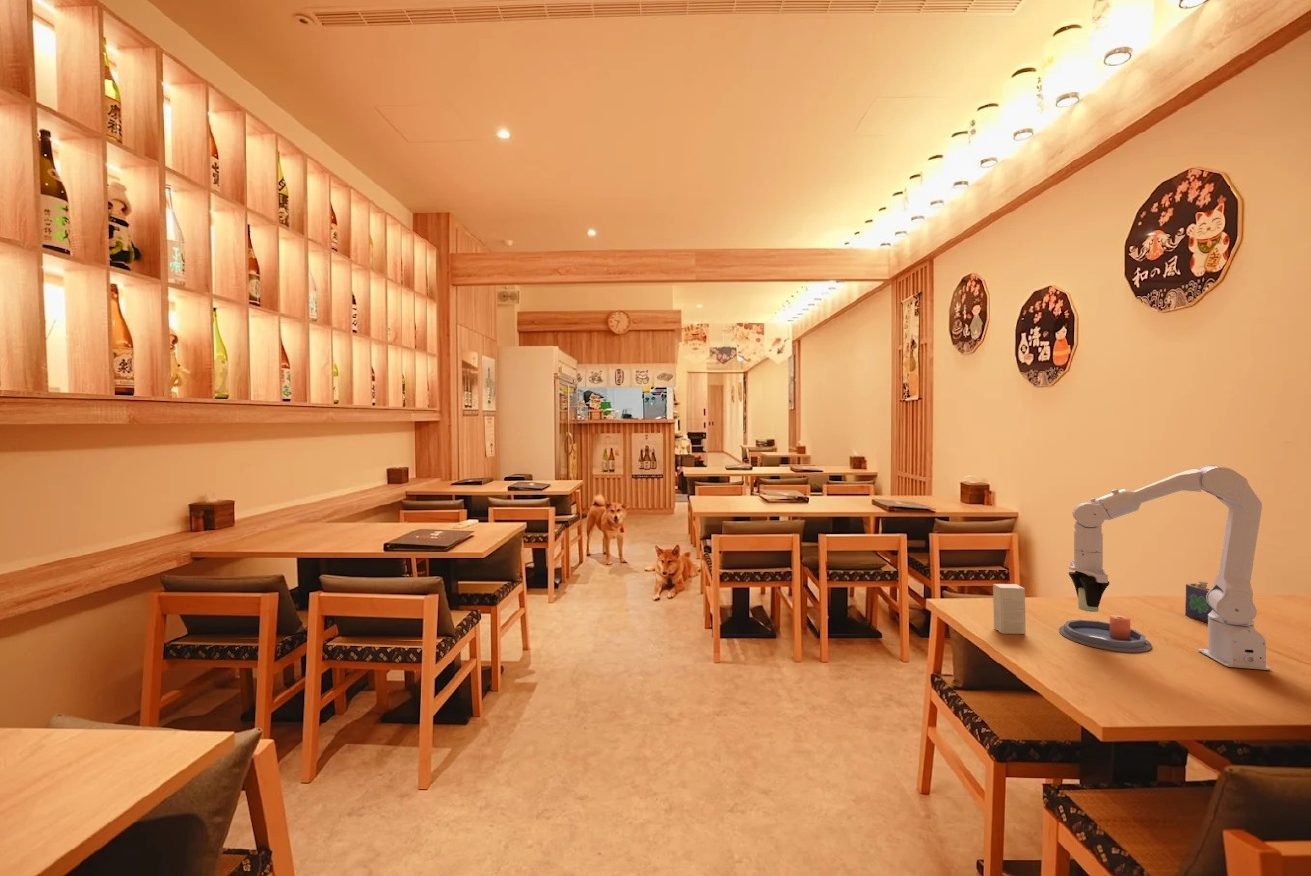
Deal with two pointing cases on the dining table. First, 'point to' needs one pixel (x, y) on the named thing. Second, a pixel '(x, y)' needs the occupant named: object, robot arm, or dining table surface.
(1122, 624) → the vermilion bead
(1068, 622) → the round tray
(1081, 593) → the sage bead
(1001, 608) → the skincare box
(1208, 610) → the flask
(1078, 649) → the dining table surface
